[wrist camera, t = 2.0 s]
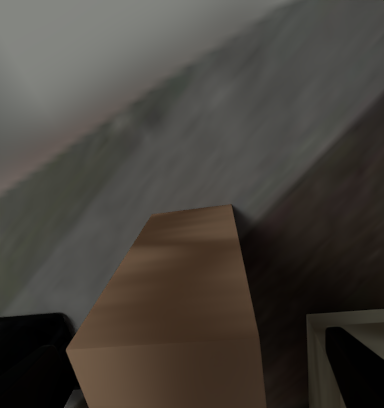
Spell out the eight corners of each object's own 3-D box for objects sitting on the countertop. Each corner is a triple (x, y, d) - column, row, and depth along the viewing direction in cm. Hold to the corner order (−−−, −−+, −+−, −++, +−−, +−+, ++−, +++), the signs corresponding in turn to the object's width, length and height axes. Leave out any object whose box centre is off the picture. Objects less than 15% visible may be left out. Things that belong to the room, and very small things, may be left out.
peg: (167, 281, 16) (113, 469, 7) (152, 214, 15) (65, 349, 6) (239, 274, 15) (273, 469, 7) (231, 204, 14) (259, 338, 5)
